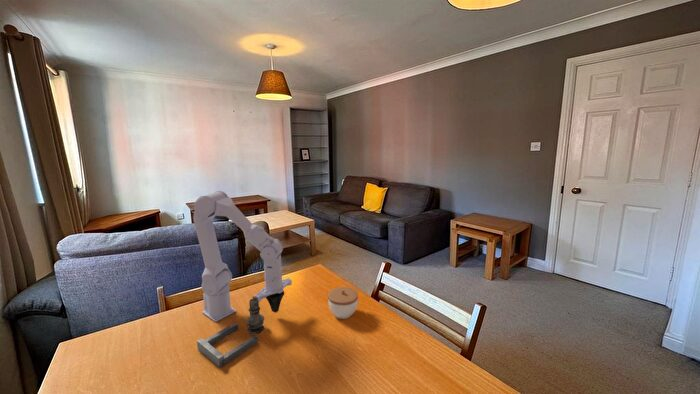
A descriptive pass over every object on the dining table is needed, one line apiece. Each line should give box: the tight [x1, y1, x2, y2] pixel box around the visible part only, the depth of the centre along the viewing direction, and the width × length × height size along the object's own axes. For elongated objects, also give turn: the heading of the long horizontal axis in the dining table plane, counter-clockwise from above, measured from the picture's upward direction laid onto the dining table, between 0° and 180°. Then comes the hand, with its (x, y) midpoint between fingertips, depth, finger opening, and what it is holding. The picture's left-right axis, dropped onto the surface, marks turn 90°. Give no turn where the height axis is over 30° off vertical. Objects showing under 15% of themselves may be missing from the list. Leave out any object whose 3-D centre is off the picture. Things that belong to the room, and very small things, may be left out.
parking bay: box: [196, 322, 259, 369], centre depth 86 cm, size 12×12×3 cm
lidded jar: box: [327, 286, 359, 320], centre depth 102 cm, size 11×11×9 cm
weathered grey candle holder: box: [245, 295, 266, 336], centre depth 93 cm, size 6×6×12 cm
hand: (275, 311), depth 100 cm, fingers closed
